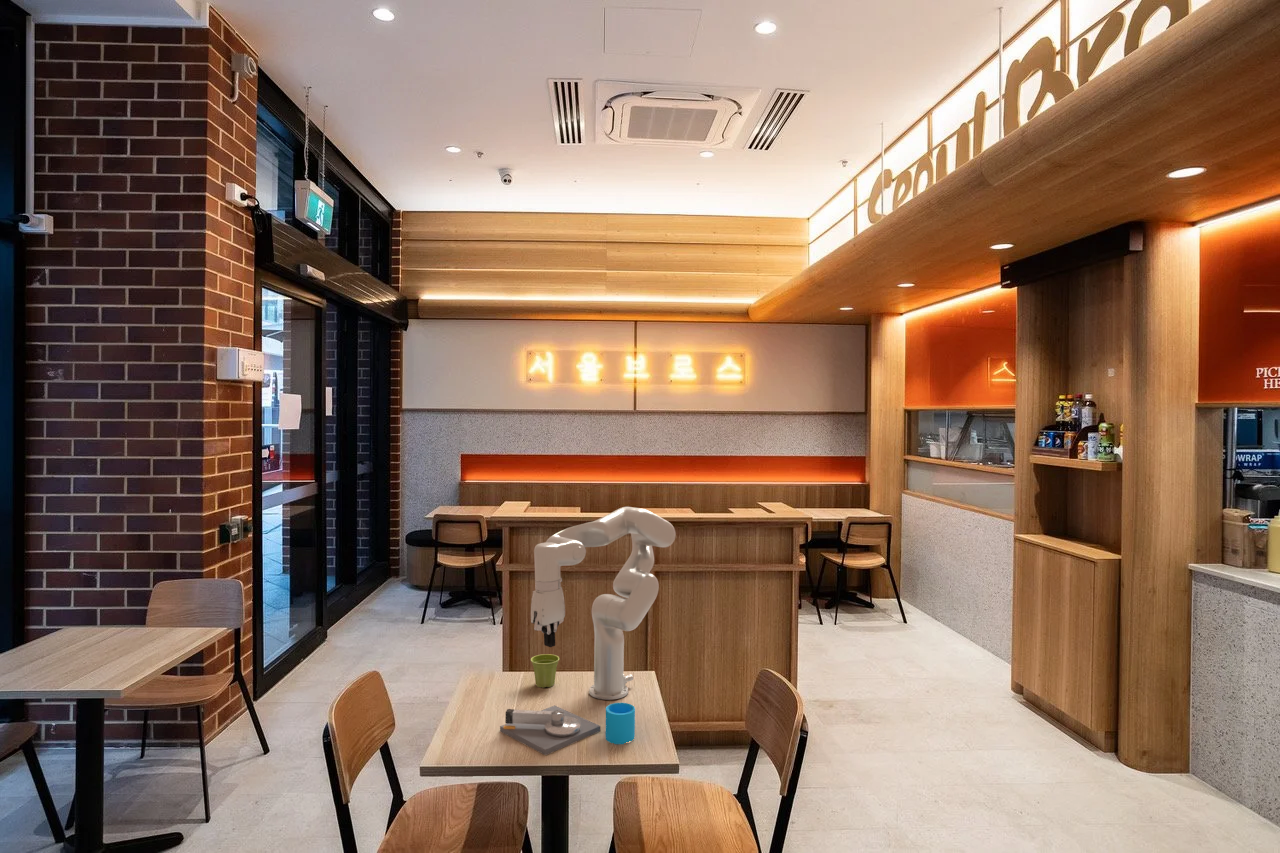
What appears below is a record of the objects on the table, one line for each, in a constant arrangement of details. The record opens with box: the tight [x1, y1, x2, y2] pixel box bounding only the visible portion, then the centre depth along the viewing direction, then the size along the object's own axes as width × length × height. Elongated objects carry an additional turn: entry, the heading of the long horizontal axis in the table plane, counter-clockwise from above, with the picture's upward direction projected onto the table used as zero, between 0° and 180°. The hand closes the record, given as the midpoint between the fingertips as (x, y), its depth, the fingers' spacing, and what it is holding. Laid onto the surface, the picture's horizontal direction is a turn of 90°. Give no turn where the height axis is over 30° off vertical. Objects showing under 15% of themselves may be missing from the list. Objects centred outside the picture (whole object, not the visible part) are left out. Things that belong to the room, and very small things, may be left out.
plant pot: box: [530, 653, 560, 689], centre depth 234 cm, size 9×9×9 cm
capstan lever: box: [505, 708, 581, 737], centre depth 198 cm, size 10×21×5 cm, turn 86°
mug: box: [604, 702, 636, 745], centre depth 198 cm, size 12×8×8 cm
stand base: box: [499, 705, 601, 756], centre depth 199 cm, size 20×20×2 cm
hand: (549, 645), depth 210 cm, fingers closed
